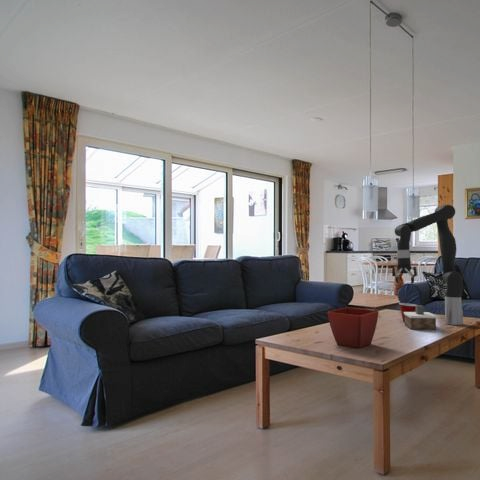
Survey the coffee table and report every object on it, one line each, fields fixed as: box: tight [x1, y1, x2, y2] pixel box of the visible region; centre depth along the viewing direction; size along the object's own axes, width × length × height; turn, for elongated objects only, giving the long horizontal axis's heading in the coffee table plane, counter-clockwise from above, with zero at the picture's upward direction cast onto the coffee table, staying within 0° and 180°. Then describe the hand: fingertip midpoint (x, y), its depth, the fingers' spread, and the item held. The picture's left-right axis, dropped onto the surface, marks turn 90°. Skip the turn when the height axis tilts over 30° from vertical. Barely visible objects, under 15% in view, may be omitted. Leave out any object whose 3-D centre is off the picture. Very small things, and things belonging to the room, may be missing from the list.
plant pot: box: [327, 307, 379, 349], centre depth 211 cm, size 19×19×17 cm
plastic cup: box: [398, 302, 417, 323], centre depth 270 cm, size 11×11×12 cm
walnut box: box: [404, 315, 437, 331], centre depth 252 cm, size 14×14×7 cm
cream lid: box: [404, 304, 438, 319], centre depth 252 cm, size 15×15×7 cm
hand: (404, 283), depth 258 cm, fingers open, 8 cm apart
